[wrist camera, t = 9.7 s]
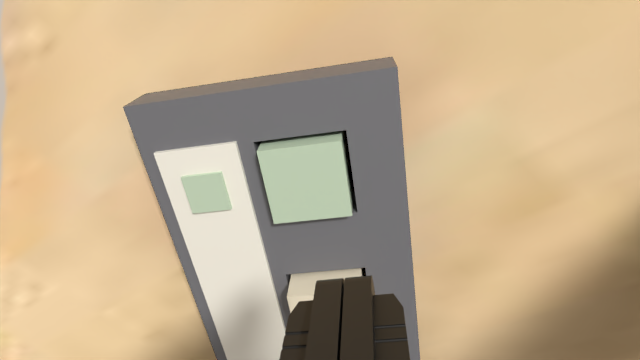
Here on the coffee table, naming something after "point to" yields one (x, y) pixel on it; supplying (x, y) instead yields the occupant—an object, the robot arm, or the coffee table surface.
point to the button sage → (306, 177)
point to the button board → (252, 202)
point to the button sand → (313, 283)
